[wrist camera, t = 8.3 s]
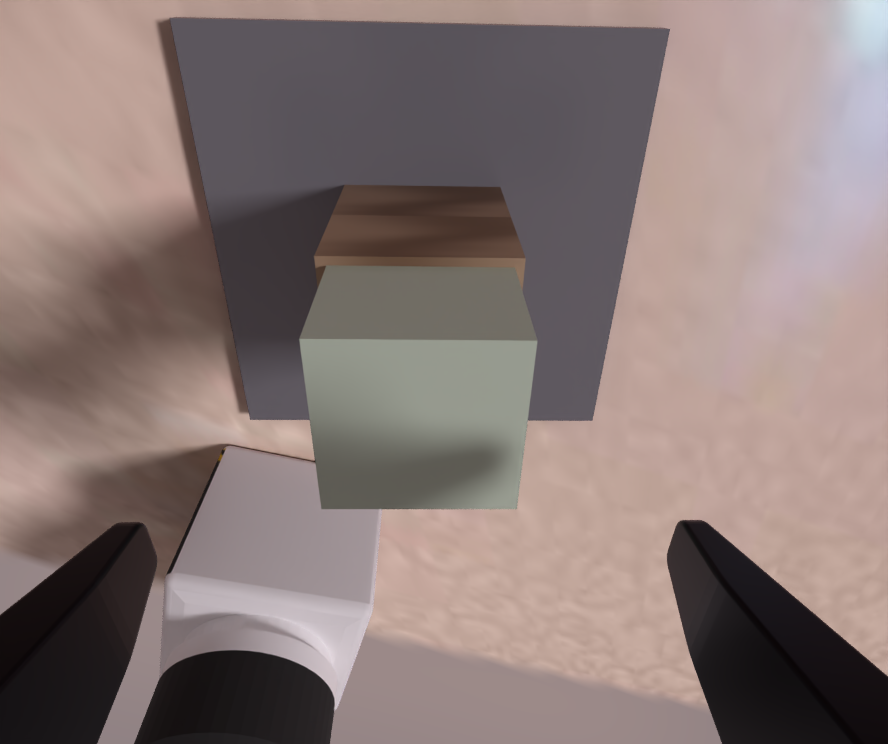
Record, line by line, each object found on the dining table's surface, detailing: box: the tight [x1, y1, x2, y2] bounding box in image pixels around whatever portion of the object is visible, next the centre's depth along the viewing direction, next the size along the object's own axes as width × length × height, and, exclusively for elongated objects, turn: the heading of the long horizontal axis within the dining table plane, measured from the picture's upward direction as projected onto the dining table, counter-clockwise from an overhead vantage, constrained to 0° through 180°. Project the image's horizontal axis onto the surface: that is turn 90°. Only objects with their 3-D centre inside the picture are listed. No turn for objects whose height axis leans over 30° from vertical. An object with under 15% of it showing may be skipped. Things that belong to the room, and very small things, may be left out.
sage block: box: [299, 265, 537, 509], centre depth 14 cm, size 4×4×4 cm
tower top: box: [314, 215, 526, 290], centre depth 17 cm, size 5×5×3 cm
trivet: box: [170, 17, 670, 421], centre depth 21 cm, size 14×14×1 cm
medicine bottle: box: [134, 446, 382, 744], centre depth 23 cm, size 7×7×12 cm
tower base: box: [332, 185, 511, 217], centre depth 19 cm, size 5×5×3 cm
